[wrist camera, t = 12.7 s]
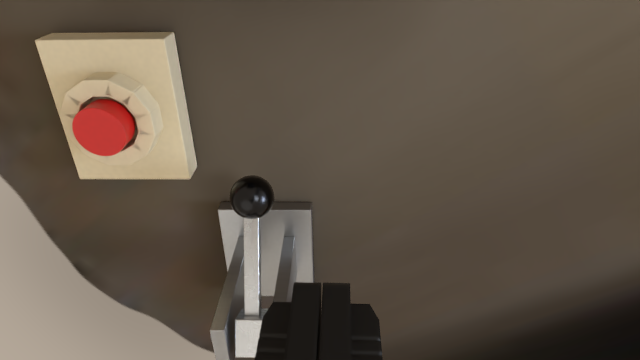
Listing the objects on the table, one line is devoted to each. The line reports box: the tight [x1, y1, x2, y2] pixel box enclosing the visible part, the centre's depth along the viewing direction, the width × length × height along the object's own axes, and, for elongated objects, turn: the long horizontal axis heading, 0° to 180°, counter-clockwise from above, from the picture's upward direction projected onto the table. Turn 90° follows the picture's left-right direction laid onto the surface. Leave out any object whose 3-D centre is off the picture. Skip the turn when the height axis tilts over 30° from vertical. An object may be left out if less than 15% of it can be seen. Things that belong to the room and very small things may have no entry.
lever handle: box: [230, 175, 274, 358], centre depth 33 cm, size 13×3×3 cm, turn 1°
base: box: [210, 202, 314, 360], centre depth 37 cm, size 10×8×12 cm
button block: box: [35, 32, 197, 179], centre depth 34 cm, size 11×9×4 cm
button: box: [72, 99, 135, 156], centre depth 31 cm, size 4×4×2 cm
